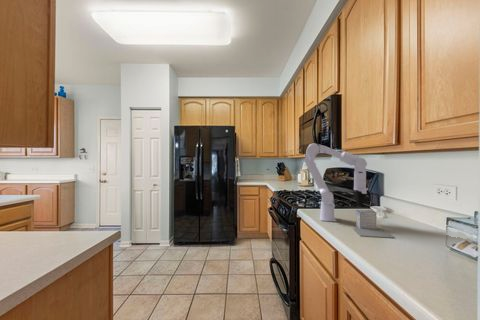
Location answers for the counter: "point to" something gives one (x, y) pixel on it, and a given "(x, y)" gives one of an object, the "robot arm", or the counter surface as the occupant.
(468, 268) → the counter surface
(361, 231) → the mat
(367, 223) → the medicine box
